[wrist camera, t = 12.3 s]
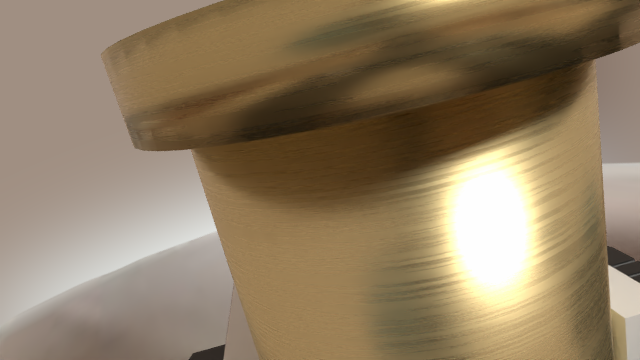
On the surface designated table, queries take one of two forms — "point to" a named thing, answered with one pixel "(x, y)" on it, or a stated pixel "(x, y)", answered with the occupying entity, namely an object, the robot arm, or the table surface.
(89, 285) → the table surface
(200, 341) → the table surface
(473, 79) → the brass fitting
